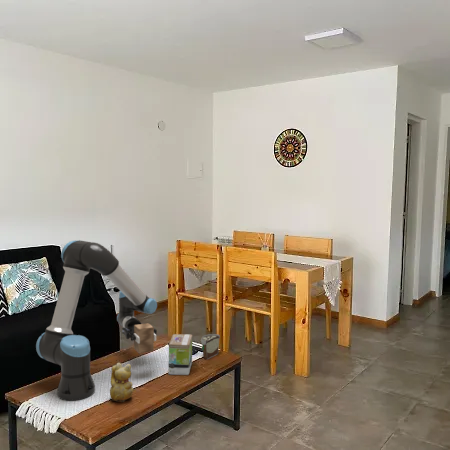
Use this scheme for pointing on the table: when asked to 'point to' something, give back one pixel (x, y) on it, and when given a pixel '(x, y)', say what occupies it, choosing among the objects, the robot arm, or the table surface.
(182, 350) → the tea box
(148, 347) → the walnut block
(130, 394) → the decorative figurine
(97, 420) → the table surface
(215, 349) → the food container
